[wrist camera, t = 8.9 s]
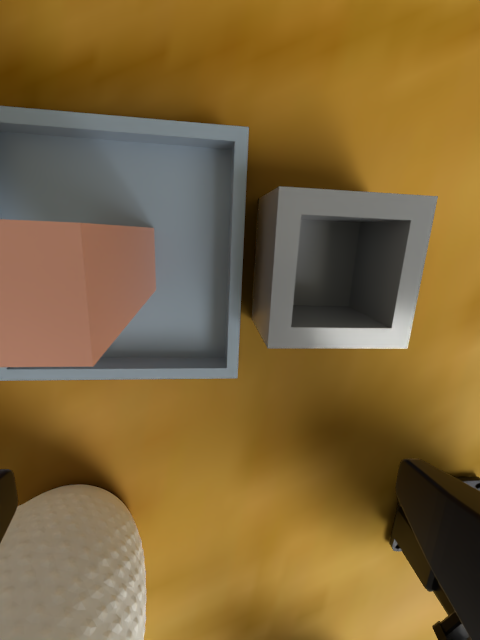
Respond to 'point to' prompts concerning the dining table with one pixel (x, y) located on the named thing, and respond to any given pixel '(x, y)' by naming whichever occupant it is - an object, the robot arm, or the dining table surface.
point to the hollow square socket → (339, 267)
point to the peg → (69, 289)
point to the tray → (142, 211)
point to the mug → (72, 569)
